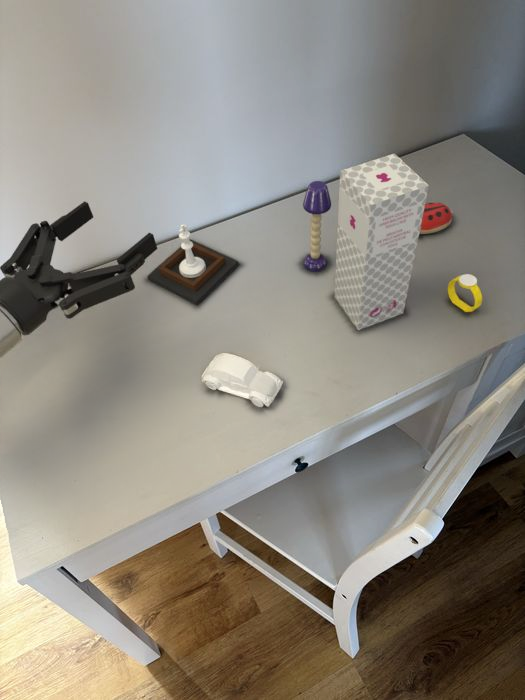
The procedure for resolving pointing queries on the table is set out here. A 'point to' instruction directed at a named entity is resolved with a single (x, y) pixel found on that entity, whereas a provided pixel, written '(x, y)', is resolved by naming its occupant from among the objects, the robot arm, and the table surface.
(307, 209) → the toy lamp
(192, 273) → the chess piece
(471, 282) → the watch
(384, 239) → the box
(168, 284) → the socket pad
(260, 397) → the car
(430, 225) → the ladybug figurine
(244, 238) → the table surface
